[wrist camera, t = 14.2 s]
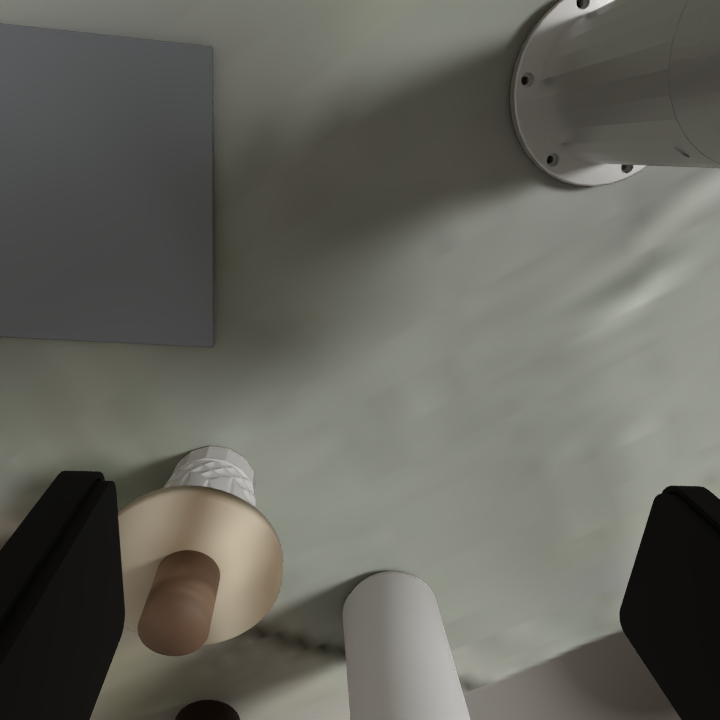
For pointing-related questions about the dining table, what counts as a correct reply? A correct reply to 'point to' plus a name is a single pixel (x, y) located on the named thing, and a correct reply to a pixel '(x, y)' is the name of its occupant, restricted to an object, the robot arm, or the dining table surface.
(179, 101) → the mat
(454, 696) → the alcohol
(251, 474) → the white cup
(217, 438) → the dining table surface
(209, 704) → the coffee mug
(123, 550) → the lid
